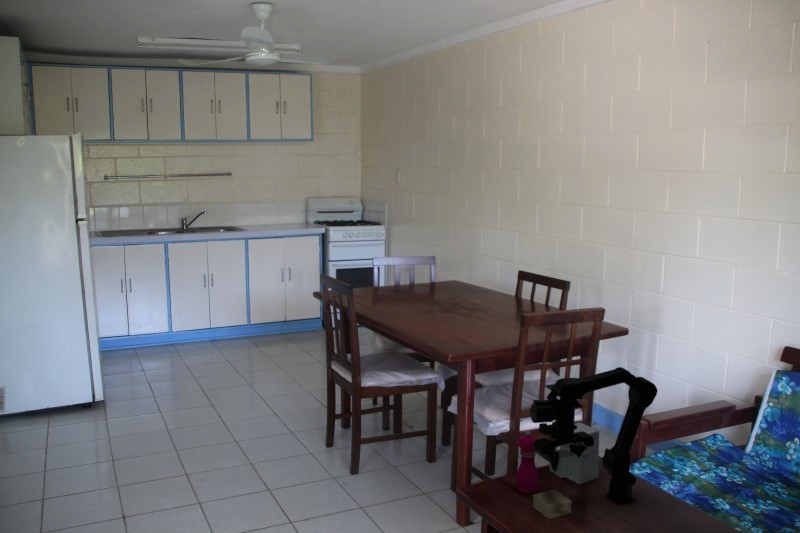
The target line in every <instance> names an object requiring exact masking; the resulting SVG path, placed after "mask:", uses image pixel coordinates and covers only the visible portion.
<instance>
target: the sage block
mask: <svg viewBox="0 0 800 533" xmlns="http://www.w3.org/2000/svg"><path fill="white" fill-rule="evenodd" d="M557 452H558V453H559V459H558V465H557V469H556V471H554V470H553V469H552V466H551V463H550V460H549V463H548V466H549V467H548V470H549V471H550V472H552V473H553V474H554V475H556V476H558V477H559V478H561V479H562V478H566V477H567V476H572V475H577V462H578V456H577V455H575V454H574V453H572V452H571V451H569V450H567V449H560V448H559V449H557Z"/></svg>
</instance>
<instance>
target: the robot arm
mask: <svg viewBox="0 0 800 533" xmlns="http://www.w3.org/2000/svg"><path fill="white" fill-rule="evenodd" d="M620 384H625V385H626V386H628V406H627V409H626V411H625V414H624V417H623V421H622V423H621V426H620V428H619V432H618V434H617V437H616V439H615V442H614V445H613V446H612V447H611V448H610V449H609V448H607V447H606V448H605V450H604V454H603V457H601V460H602V466H603V469H604V470H605V471H607V474H608V475H609V476H610V477H611V478H610V479H609V484H608V493H606V495H605V496H606V497H608V498H609V499H611V500H613V501H614V502H616V503H617V504H618V505H621V504H626V503H631V502H635V501H636V498H635V497H634V496H633V486H634V485H635V484H636V482H637V478H636V477H635V476H634V475H633V474H632V473H631V472H630V469H631V450H632V447H633V444H634V441H635V438H636V436H637V433H638V430H639V427H640V424H641V421H642V419H643V416H644V414H645V413H644V412H645V411H646V409H647V408H649V407H650V406H651V405H652V404H653V403H654V401H655V399H656V397H657V395H658V388H657V386H656V385H655V384H654V382H652V381H650V380H648V379H646V378H645V377H643V376H635V375H634V374H632V373H631V372H630V371H629V370H628V369H626V368H624V367H621V366H619V367H618V366H617V367H616V368H613V369H610V370H606V371H603V372H600V373H596V374H592V375H587V376H585V377H563V378H559V379H557V380H556V381H555V384H554V385H553V388H552V389H551V391H550V392H549V393H548V395H547V396H546V399H543V400H542V399H540V400H539V399H534V400H532V404H531V406H530V408H529V414H530V420H531V421H532V423H533V424H539V425H538V431H539V434H540V435H544V436H545V437H543V438H538V439H537V438H536V440H535V441H534V449H535V450H536V452H538V453H540V454H542V455H543V456H546V455H547V457H548V459H549V460H550V463H551V466H552V469H553V470H554V471H556V469H557V465H558V459H559V453H558V452H557V450H558V449H557V448H560V446H565V445H569V447H570V451H571V452H572V453H574V454H575V455H577V456H578V459H579V457H580V456H581V454H582V453H583V451H584V450H586V449H587V447H590V446H594V439H593V437H592V436H591V435H589V434H587V433H585V432H584V431H582V432H576V433H574V430H575V429H577V426H576V425H574V424H575V421H576V420H575V416H576V414H575V413H576V408H577V409H578V408H582V407H583V404H581V403H580V402H579V401H578V400H579V399H582V397H584V396H585V395H586V394H588V393H592V392H595V391H598V390H602V389H605V388H609V387H613V386H617V385H620ZM558 397H559V399H558ZM548 423H550V424H548ZM547 436H549V437H550V438H551V439H552V440H551V441H550V440H549V439H547V438H546V437H547ZM553 439H554V440H553ZM584 445H585V446H586V447H585V446H584Z"/></svg>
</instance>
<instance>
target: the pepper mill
mask: <svg viewBox="0 0 800 533" xmlns="http://www.w3.org/2000/svg"><path fill="white" fill-rule="evenodd" d="M535 440H537V438H536V437H535V436H534V435H532V432H531V431H529V430H526V431H525V432H524V434H523V435H521V436H520V437H519V439H518V446H519V448H520V449H519V451H520V452H519V454H520V456H521V457H520V463H519V466H518V468H517V471H516V475H515V476H516V477H515V478H516V480H517V481H518V483H517V490H518V491H519V493H523V494H526V495H531V494H532V495H533V494H536V493H537V491H538V484H537V483H538V482H539V480H540V475H539V471H538V468H537V466H536V463H535V457H536V452H537V450H536V449H534V441H535Z"/></svg>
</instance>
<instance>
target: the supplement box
mask: <svg viewBox="0 0 800 533" xmlns="http://www.w3.org/2000/svg"><path fill="white" fill-rule="evenodd" d="M574 425H576V426H577V429H575V430H574V433H576V432H582V431H584V432H585V433H587V434H589V435H591V436H592V437H593V439H594V446H590V447H587V449H586V450H584V451H583V453H582V454H581V456H580V457H579V459H578V462H577V475H572V476H567V477H565V478H566V479H568V480H569V481H572V482H573V483H576V484H578V485H581V484H585V483H587V482H590V481H592V480H595V479H598V478H599V469H600V468H599V465H600V464H599V462H600V461H599V457H600V430H599V429H597V428H594V427H591V426H589V425H588V424H585V423H582V422H577V423H574ZM584 446H585V445H584ZM585 447H586V446H585ZM560 449H567V450H569V451H570V447H569V445H565V446H560V447H559V450H560Z"/></svg>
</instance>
